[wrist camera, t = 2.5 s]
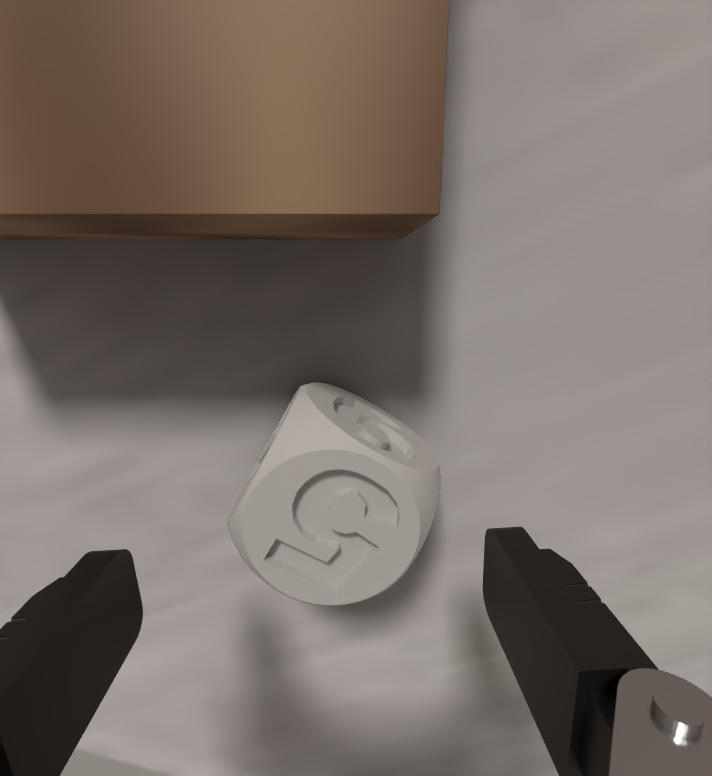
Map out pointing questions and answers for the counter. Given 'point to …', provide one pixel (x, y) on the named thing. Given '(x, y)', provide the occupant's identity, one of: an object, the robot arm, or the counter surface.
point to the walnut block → (220, 118)
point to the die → (336, 499)
